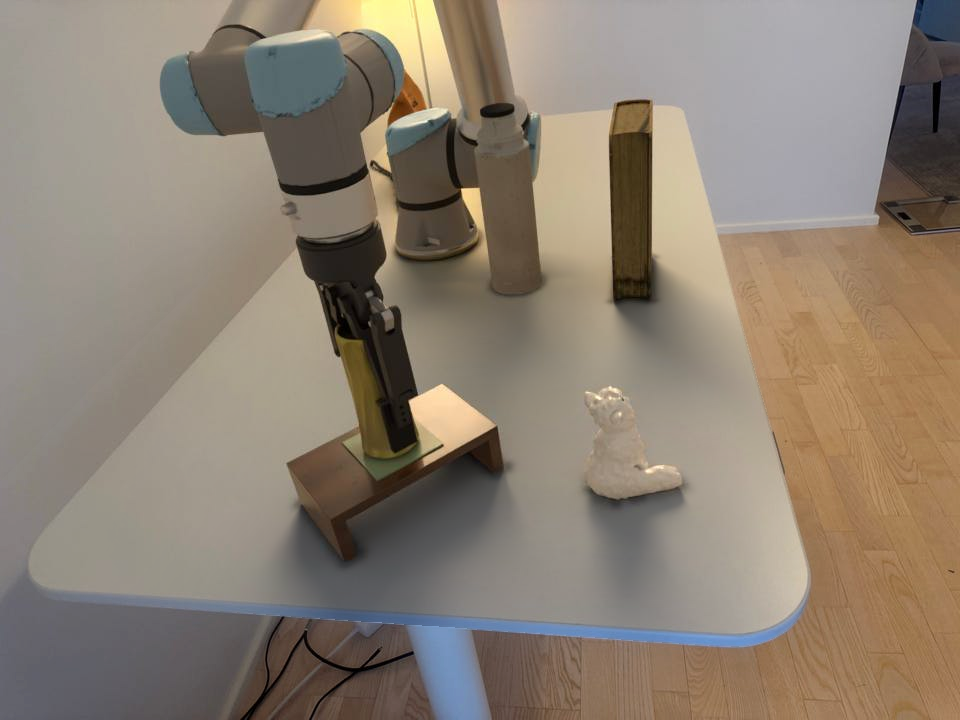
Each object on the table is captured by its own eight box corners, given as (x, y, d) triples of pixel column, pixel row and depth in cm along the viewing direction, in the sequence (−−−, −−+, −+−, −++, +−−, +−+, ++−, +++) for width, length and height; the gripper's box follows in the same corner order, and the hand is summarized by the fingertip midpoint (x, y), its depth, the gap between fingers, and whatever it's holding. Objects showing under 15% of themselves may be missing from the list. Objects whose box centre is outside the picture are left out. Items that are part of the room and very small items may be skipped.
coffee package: (389, 181, 165) (369, 82, 153) (402, 163, 175) (384, 68, 163) (431, 178, 163) (413, 77, 151) (442, 160, 173) (426, 64, 161)
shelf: (300, 503, 79) (285, 461, 76) (450, 423, 88) (442, 381, 84) (344, 562, 71) (329, 518, 68) (503, 467, 80) (497, 424, 77)
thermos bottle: (504, 269, 120) (483, 98, 105) (548, 273, 117) (533, 97, 102) (484, 292, 115) (459, 114, 99) (530, 297, 111) (511, 114, 96)
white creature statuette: (686, 486, 74) (690, 393, 67) (623, 526, 71) (621, 432, 64) (623, 441, 81) (621, 353, 74) (563, 475, 78) (555, 386, 71)
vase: (363, 427, 79) (332, 315, 71) (419, 418, 79) (393, 305, 71) (360, 464, 73) (326, 347, 66) (419, 455, 73) (392, 337, 66)
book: (618, 254, 120) (614, 101, 106) (651, 253, 118) (652, 98, 105) (613, 303, 107) (608, 135, 93) (651, 303, 105) (652, 132, 92)
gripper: (258, 214, 68) (319, 407, 80) (346, 274, 54) (403, 495, 67) (329, 189, 71) (377, 379, 84) (429, 241, 57) (468, 458, 70)
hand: (388, 430), depth 75 cm, fingers closed on vase, 6 cm apart
